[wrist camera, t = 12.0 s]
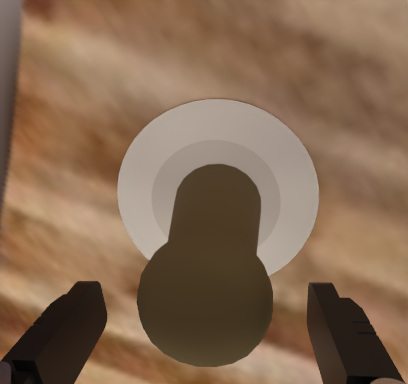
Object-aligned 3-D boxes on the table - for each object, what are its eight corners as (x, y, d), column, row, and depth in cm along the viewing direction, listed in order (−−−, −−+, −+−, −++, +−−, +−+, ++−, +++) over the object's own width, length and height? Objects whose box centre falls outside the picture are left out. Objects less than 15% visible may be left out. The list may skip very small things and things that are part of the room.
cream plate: (320, 89, 18) (325, 90, 17) (310, 279, 22) (313, 288, 21) (106, 107, 19) (99, 108, 18) (138, 279, 24) (133, 288, 23)
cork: (164, 173, 19) (86, 268, 9) (253, 154, 18) (278, 238, 8) (186, 249, 21) (142, 400, 11) (268, 236, 20) (303, 389, 10)
